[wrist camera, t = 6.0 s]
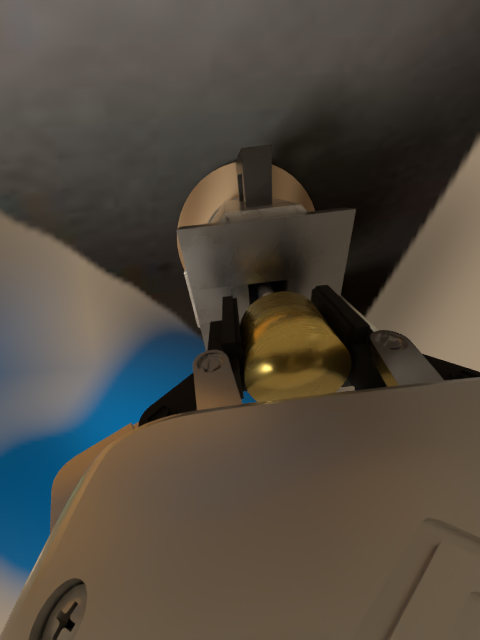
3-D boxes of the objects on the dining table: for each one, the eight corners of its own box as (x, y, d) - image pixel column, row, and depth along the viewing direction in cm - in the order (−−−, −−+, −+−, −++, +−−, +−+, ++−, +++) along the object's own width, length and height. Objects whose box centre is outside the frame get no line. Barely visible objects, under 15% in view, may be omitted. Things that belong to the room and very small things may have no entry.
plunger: (285, 208, 21) (441, 266, 6) (284, 280, 25) (373, 422, 10) (208, 217, 21) (169, 298, 6) (220, 288, 25) (214, 440, 10)
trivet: (324, 152, 20) (326, 151, 20) (310, 299, 29) (311, 301, 28) (159, 171, 20) (157, 170, 20) (194, 312, 29) (194, 314, 28)
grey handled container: (296, 157, 20) (385, 122, 9) (291, 284, 27) (337, 352, 16) (187, 170, 20) (142, 151, 9) (211, 293, 27) (202, 367, 16)
